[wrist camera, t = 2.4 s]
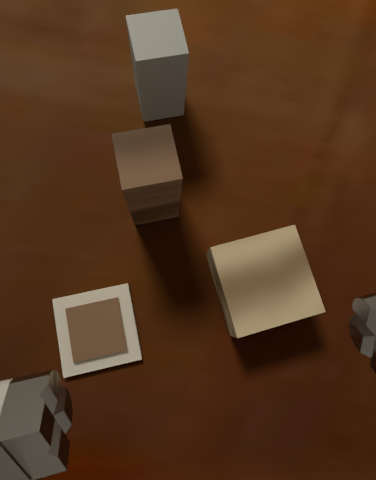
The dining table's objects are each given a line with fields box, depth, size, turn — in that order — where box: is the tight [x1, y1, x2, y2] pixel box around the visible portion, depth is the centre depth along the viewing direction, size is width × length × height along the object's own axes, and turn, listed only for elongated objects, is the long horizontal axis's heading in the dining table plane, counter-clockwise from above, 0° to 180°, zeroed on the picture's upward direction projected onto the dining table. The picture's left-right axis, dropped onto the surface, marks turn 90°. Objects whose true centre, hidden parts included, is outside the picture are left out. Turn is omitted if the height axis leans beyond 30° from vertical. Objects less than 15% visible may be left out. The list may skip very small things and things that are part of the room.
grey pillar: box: [126, 9, 189, 122], centre depth 33 cm, size 4×4×9 cm
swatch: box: [52, 283, 142, 378], centre depth 32 cm, size 7×7×1 cm
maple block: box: [206, 225, 325, 338], centre depth 32 cm, size 8×8×4 cm
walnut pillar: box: [111, 124, 183, 225], centre depth 30 cm, size 4×4×10 cm
